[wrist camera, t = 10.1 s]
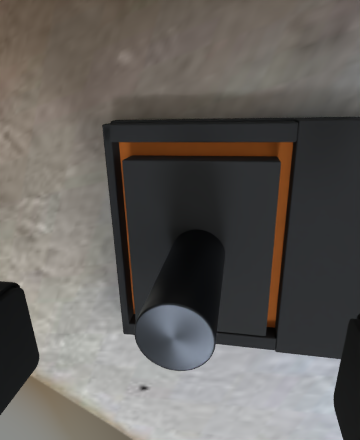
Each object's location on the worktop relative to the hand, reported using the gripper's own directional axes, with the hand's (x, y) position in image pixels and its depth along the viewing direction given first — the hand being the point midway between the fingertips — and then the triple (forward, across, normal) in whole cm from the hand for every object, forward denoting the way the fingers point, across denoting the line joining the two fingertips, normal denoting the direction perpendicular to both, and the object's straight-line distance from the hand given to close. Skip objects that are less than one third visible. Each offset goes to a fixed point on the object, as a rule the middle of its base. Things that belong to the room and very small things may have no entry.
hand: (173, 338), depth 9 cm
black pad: (+8, 0, +1) cm, 8 cm away
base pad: (+9, -3, +1) cm, 10 cm away
